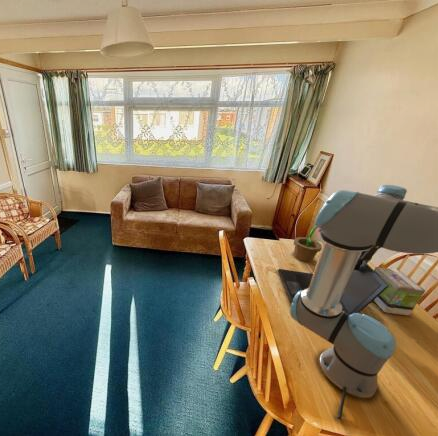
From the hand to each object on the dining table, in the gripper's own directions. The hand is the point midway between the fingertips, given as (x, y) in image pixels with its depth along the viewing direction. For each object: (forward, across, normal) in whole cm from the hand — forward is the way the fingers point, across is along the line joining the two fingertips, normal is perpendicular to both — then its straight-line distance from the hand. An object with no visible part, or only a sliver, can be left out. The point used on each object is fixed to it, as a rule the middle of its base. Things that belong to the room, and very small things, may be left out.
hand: (353, 269), depth 103 cm
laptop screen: (+6, 0, 0) cm, 6 cm away
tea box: (+18, +3, -20) cm, 27 cm away
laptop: (+18, 0, +14) cm, 22 cm away
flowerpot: (+18, +34, +5) cm, 39 cm away
